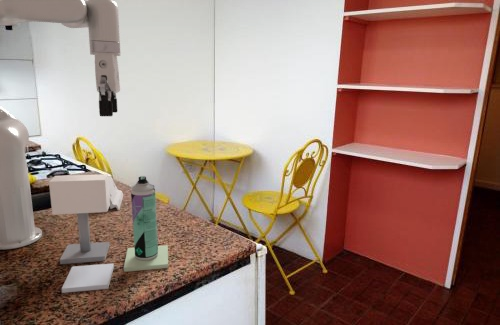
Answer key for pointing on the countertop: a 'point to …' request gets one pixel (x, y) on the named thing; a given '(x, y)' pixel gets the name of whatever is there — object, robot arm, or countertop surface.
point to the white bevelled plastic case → (114, 195)
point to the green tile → (155, 263)
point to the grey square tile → (88, 278)
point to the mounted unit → (81, 212)
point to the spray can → (144, 220)
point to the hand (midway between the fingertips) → (109, 114)
